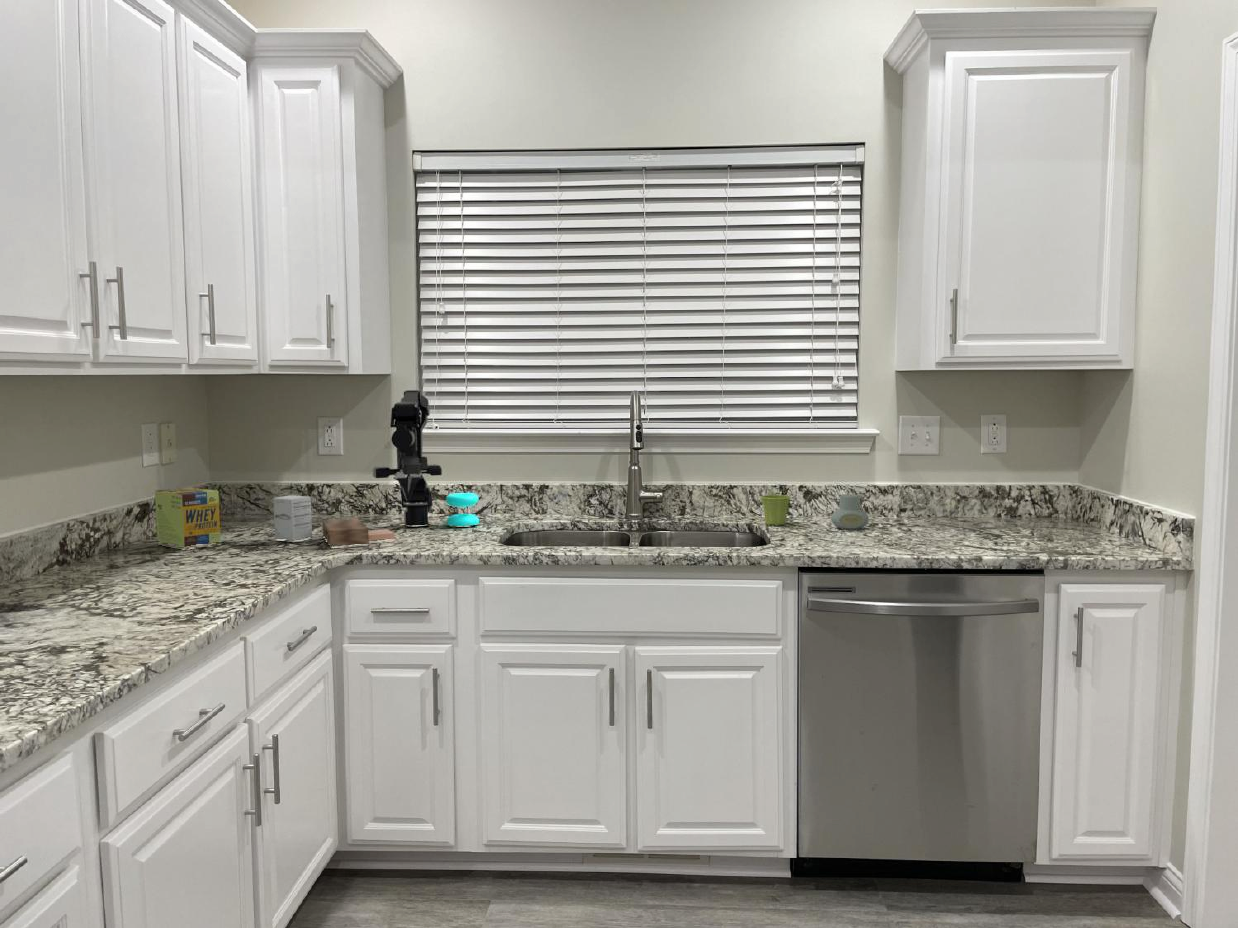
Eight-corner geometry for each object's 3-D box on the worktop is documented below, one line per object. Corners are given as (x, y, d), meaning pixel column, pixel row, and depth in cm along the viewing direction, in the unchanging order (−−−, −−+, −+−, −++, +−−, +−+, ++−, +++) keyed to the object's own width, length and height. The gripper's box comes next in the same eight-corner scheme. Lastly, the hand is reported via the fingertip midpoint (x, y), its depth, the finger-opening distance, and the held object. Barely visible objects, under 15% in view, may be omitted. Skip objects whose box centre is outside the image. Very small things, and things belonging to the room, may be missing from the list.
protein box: (184, 551, 240) (181, 494, 238) (156, 545, 249) (153, 490, 248) (222, 545, 248) (219, 490, 247) (193, 540, 257) (191, 486, 256)
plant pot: (754, 522, 280) (754, 495, 280) (781, 521, 283) (782, 493, 282) (768, 527, 271) (768, 498, 271) (796, 525, 274) (796, 497, 273)
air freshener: (866, 526, 271) (867, 493, 270) (870, 530, 263) (870, 497, 262) (829, 526, 273) (830, 493, 272) (832, 530, 265) (832, 496, 264)
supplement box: (274, 541, 254) (272, 497, 252) (294, 537, 260) (292, 494, 259) (292, 543, 250) (290, 499, 249) (313, 539, 257) (311, 495, 255)
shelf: (358, 535, 263) (357, 518, 263) (368, 546, 245) (368, 528, 245) (322, 537, 259) (322, 520, 259) (330, 549, 241) (330, 530, 241)
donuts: (485, 493, 279) (461, 497, 271) (485, 525, 280) (462, 529, 272) (463, 491, 285) (439, 494, 277) (463, 522, 286) (439, 526, 278)
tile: (387, 539, 259) (387, 529, 258) (394, 543, 252) (394, 533, 251) (334, 544, 251) (333, 533, 251) (340, 548, 244) (339, 537, 244)
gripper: (378, 449, 246) (379, 506, 247) (445, 447, 253) (446, 502, 255) (371, 447, 256) (373, 501, 257) (436, 445, 264) (438, 498, 265)
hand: (408, 501), depth 258 cm, fingers closed
